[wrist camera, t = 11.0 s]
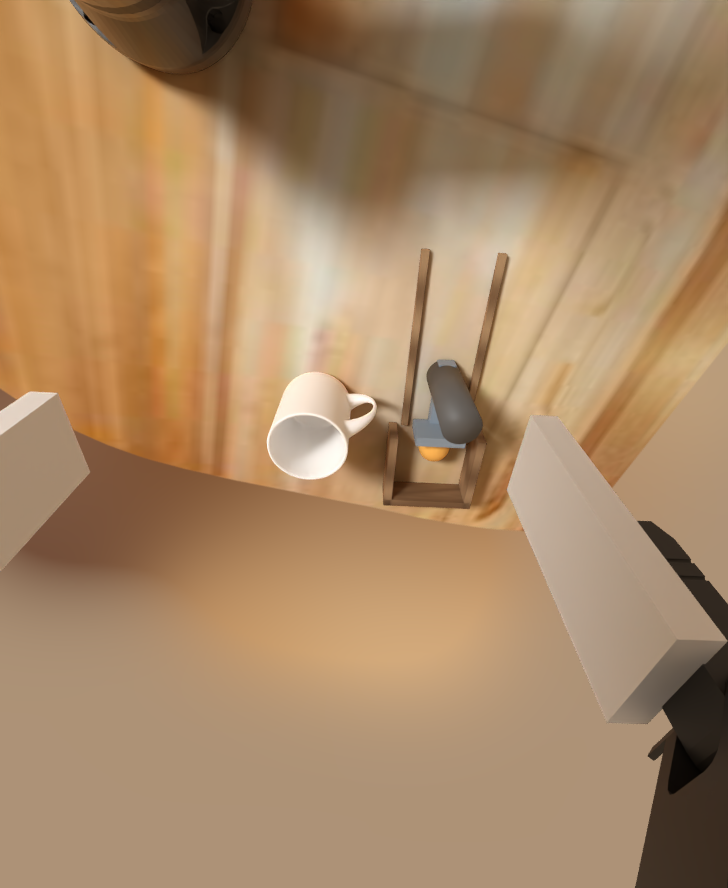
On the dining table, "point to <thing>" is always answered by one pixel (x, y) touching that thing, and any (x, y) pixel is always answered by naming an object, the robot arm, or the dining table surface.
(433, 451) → the ball
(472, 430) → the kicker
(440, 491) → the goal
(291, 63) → the dining table surface
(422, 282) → the lane
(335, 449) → the mug
